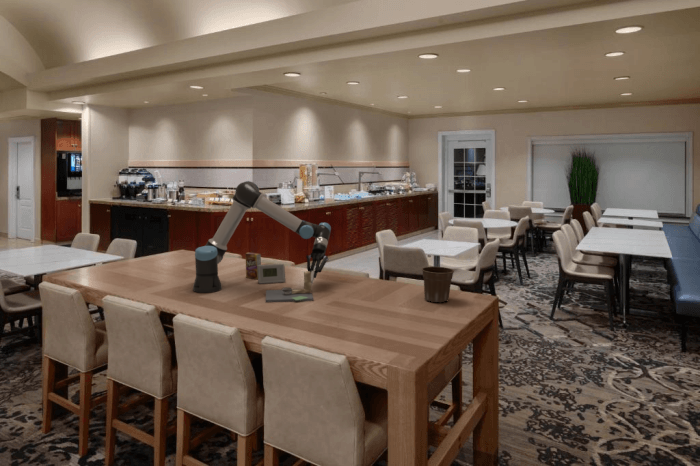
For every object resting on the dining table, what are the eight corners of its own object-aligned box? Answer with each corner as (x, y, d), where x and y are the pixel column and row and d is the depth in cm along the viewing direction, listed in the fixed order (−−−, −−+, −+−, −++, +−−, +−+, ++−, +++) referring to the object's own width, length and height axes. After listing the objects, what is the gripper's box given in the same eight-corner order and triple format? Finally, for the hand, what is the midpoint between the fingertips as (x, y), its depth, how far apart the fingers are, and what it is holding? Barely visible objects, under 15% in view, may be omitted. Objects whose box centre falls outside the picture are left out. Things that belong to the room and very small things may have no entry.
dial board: (265, 303, 245) (265, 297, 245) (266, 292, 267) (266, 286, 267) (314, 302, 249) (314, 296, 248) (310, 290, 271) (310, 285, 270)
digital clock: (257, 284, 285) (256, 266, 283) (258, 281, 294) (257, 263, 292) (285, 283, 287) (285, 266, 285) (285, 280, 296) (285, 262, 294)
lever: (283, 295, 256) (283, 274, 254) (281, 292, 260) (281, 272, 259) (311, 292, 261) (311, 272, 259) (309, 290, 265) (309, 270, 264)
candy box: (245, 277, 302) (245, 253, 299) (250, 276, 305) (249, 252, 303) (256, 279, 297) (256, 254, 295) (261, 278, 301) (261, 253, 299)
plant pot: (448, 296, 262) (450, 266, 260) (456, 304, 246) (457, 272, 244) (418, 296, 262) (419, 266, 260) (424, 304, 246) (424, 272, 244)
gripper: (307, 242, 279) (297, 277, 265) (329, 243, 276) (321, 279, 262) (310, 250, 285) (301, 285, 271) (332, 251, 282) (324, 286, 268)
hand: (311, 282), depth 267 cm, fingers closed
